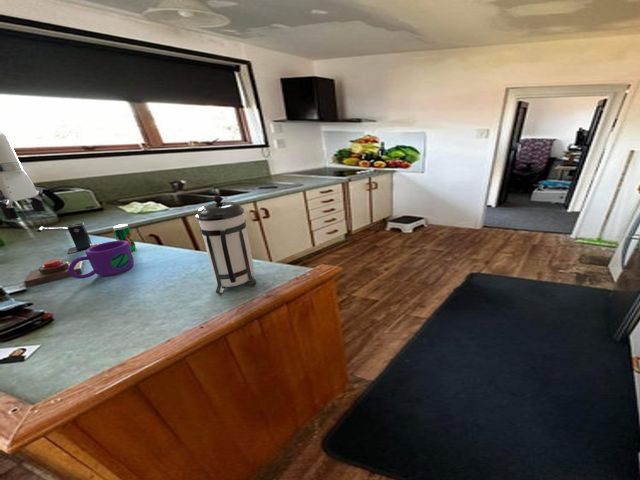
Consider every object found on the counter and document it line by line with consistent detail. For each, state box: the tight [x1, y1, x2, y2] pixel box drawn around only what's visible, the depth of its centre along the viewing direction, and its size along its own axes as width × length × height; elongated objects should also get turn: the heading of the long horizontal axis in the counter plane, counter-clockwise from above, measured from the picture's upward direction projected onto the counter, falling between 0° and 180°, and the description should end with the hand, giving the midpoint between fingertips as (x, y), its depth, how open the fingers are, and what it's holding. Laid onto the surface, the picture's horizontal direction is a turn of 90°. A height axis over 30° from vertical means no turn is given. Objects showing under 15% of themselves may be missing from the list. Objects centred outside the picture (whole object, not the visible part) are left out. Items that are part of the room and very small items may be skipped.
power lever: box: [36, 226, 69, 233], centre depth 115 cm, size 12×5×2 cm, turn 133°
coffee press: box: [195, 195, 257, 295], centre depth 85 cm, size 17×16×30 cm
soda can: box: [112, 223, 137, 253], centre depth 116 cm, size 5×5×12 cm
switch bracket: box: [67, 222, 102, 255], centre depth 119 cm, size 10×8×12 cm
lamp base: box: [24, 260, 85, 288], centre depth 99 cm, size 13×11×4 cm
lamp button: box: [43, 258, 62, 268], centre depth 98 cm, size 4×4×2 cm
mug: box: [68, 240, 135, 280], centre depth 97 cm, size 17×11×10 cm, turn 160°
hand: (27, 214), depth 101 cm, fingers open, 9 cm apart
